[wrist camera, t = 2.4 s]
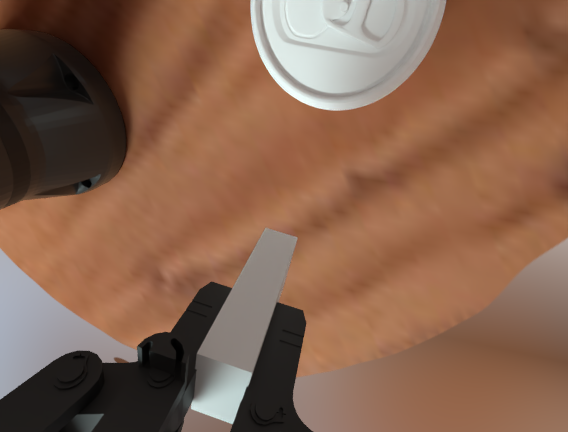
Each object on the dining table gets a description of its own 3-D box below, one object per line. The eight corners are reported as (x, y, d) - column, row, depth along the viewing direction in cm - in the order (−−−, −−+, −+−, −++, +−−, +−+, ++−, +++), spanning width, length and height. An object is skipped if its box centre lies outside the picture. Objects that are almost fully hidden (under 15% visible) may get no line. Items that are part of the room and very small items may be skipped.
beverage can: (312, -57, 20) (264, -180, 10) (429, -23, 19) (513, -114, 9) (282, 72, 24) (225, 84, 14) (378, 103, 24) (396, 139, 13)
